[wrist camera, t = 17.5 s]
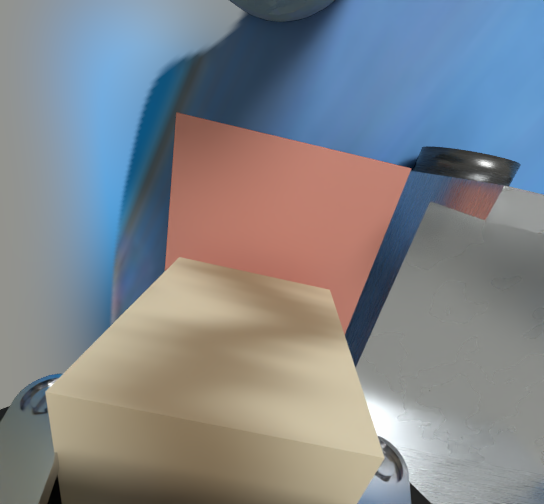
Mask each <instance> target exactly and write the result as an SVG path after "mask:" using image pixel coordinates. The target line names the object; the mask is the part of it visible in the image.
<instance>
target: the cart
mask: <svg viewBox="0 0 544 504" xmlns="http://www.w3.org/2000/svg"><path fill="white" fill-rule="evenodd" d="M519 167H520V164H519V163H517V162H515V161H512V160H508V159H505V158H501V157H497V156H492V155H487V154H482V153H477V152H472V151H466V150H459V149H452V148H443V147H422V149H421V152H420V154H419V157H418V159H417V162H416V164H415V167H414V169H413V171H410V174H409V176H408V178H407V181H406V183H405V186H404V188H403V191H402V193H401V196H400V198H399V201H398V203H397V206H396V208H395V211H394V213H393V216H392V218H391V221H390V223H389V226H388V228H387V231H386V233H385V236H384V238H383V241H382V243H381V246H380V248H379V251H378V253H377V256H376V258H375V261H374V263H373V266H372V268H371V271H370V273H369V276H368V278H367V281H366V283H365V286H364V288H363V291H362V293H361V295H360V298H359V300H358V303H357V305H356V308H355V310H354V313H353V315H352V318H351V320H350V323H349V325H348V328H347V330H346V333H345V338H346V341H347V344H348V347H349V350H350V353H351V356H352V359H353V362H354V365H355V368H356V372H357V375H358V378H359V381H360V384H361V387H362V390H363V393H364V396H365V399H366V402H367V405H368V408H369V411H370V415H371V418H372V421H373V424H374V427H375V430H376V433H377V435H378V436H380V437H383V438H384V439H386V440H387V441H389V442H390V443H391V444H392V445H393V446H394V447H395V448H396V449H397V450H398V451H399V452H400V454H401V455H402V457H403V458H404V460H405V463H406V465H407V468H408V472H409V481H410V483H411V484H412V485H413V486H414V487H415V488H416V489H417V490H418V491H419V492H420V493H421V494H422V495H423V496H424V497H425V498H426V499H427V500H429V501H430V502H431V503H432V504H544V195H542V194H538V193H534V192H530V191H525V190H521V189H517V188H513V187H509V185H510V183H511V182H512V180H513V178H514V176H515V174H516V172H517V171H518V169H519Z"/></svg>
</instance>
